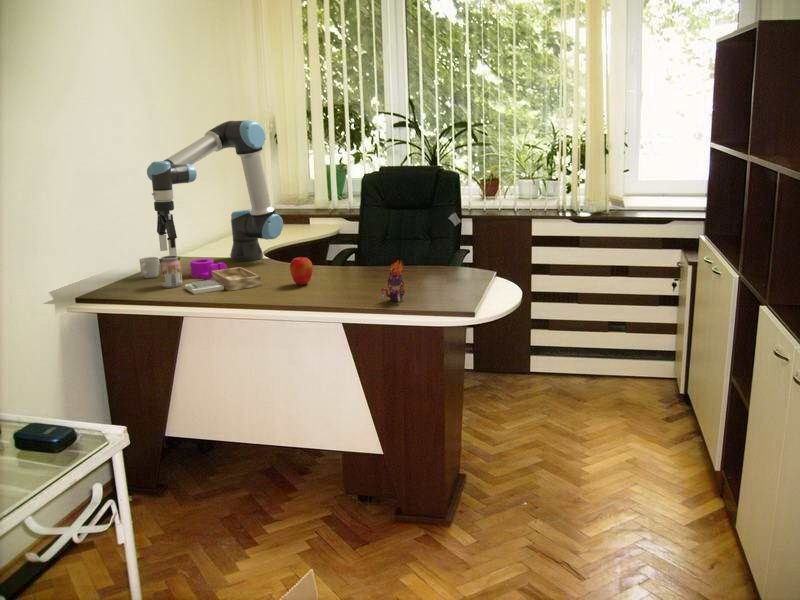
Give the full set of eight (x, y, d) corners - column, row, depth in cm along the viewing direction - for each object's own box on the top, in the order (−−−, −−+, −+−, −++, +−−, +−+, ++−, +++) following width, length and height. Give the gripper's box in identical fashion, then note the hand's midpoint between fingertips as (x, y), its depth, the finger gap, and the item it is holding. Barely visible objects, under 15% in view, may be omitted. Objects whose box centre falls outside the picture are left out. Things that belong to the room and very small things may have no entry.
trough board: (242, 275, 336) (242, 266, 335) (262, 285, 318) (261, 276, 317) (211, 280, 329) (210, 271, 328) (228, 290, 311) (228, 280, 310)
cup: (151, 280, 332) (149, 262, 330) (134, 280, 333) (132, 262, 331) (163, 275, 342) (162, 257, 340) (147, 274, 344) (145, 256, 342)
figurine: (377, 303, 286) (376, 263, 283) (386, 297, 295) (385, 258, 291) (399, 305, 283) (398, 264, 280) (408, 299, 292) (407, 259, 288)
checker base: (214, 284, 323) (213, 279, 323) (223, 289, 313) (223, 285, 313) (185, 288, 317) (184, 283, 317) (194, 294, 307) (193, 289, 307)
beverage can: (160, 284, 325) (157, 255, 322) (181, 282, 328) (178, 253, 325) (163, 289, 317) (160, 260, 314) (184, 286, 320) (181, 257, 317)
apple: (298, 288, 312) (296, 258, 309) (286, 284, 319) (284, 255, 316) (317, 284, 318) (316, 255, 315) (306, 280, 325) (304, 252, 322)
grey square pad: (210, 282, 320) (210, 279, 320) (217, 285, 313) (216, 283, 313) (191, 284, 316) (191, 282, 316) (197, 288, 309) (197, 286, 309)
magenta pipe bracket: (186, 276, 340) (185, 262, 338) (204, 271, 347) (203, 258, 346) (210, 280, 330) (209, 266, 329) (228, 276, 338) (227, 261, 336)
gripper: (146, 198, 322) (151, 249, 327) (162, 204, 301) (167, 258, 306) (164, 197, 326) (169, 247, 331) (182, 202, 305) (186, 256, 310)
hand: (168, 253), depth 319 cm, fingers open, 13 cm apart
